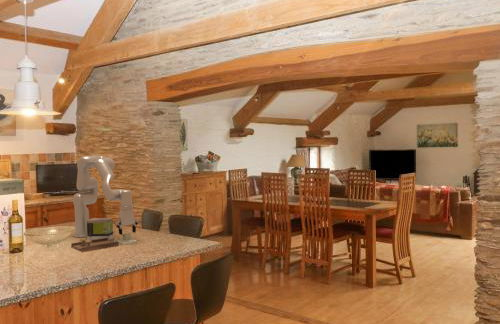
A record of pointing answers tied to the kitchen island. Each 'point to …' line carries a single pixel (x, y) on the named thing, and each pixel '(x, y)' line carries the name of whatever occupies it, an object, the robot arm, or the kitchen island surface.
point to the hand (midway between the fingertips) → (127, 233)
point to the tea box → (99, 228)
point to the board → (93, 244)
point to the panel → (125, 240)
